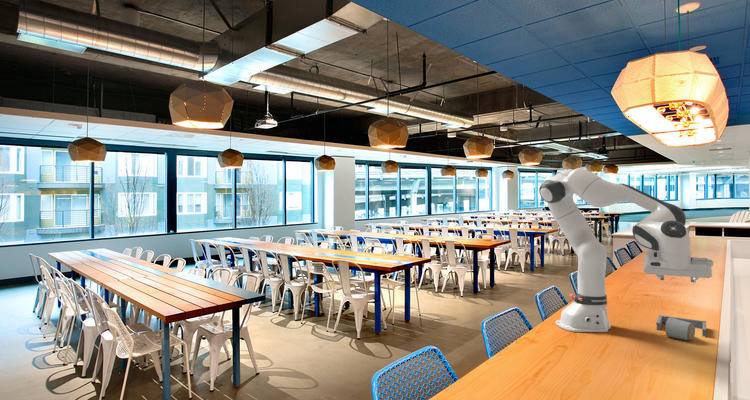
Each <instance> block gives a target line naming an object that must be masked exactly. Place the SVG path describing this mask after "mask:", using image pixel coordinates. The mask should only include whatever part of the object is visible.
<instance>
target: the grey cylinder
mask: <svg viewBox="0 0 750 400" xmlns="http://www.w3.org/2000/svg"><path fill="white" fill-rule="evenodd" d="M664 332H665V334H666V336H667V337H669V338H673V339H678V340H682V341H688V342H691V341H693V339H694V337H695V334H696V328H695V327H694V325H693V324H692V323H689V322H686V321H682V320H678V319H674V318H668V320H667V322H666V323H665V331H664Z"/></svg>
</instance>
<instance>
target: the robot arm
mask: <svg viewBox="0 0 750 400" xmlns="http://www.w3.org/2000/svg"><path fill="white" fill-rule="evenodd" d="M538 190H539V191H538V192H539V195H540V198H541V199H542V200H543V201H544V202H546V203H547V206H548V209H549V210H550V213H551V216H552V217H553V218H554V219H555V221H556V223H557V225H558V226H559V228H560V230H561V231H562V233H563V235H564V236H565V238H566V239H567V241H568V243H569V245H570V246H571V248H572V250H573V251H574V253H575V255H576V256H577V275H576V276H577V277H576V278H577V281H576V282H577V292H576V294H573V293H570V294H569V298H571V299H573V302H572V303H571V304H569V305H568V306H566V307H565V308H564V309H562V311H561V315H560V319H557V320H555V325H556V326H557V327H559V328H561V329H563V330H566V331H568V332H573V333H574V332H576V333H582V332H583V333H608V332H609V330H610V329H611V328H612V327H611V323H610V320H609V314H608V310H607V309H608V308H607V306H608V296H607V294H606V293H607V291H606V273H607V272H606V271H607V257H608V252H607V248H606V246H604V245H603V243H601V242H599V240H598V239H597V237H596V235H595V234H594V232H593V230H592V228H591V226H590V225H589V223H588V221H587V219H586V217H584V215H583V213H582V212H581V210H580V208H579V206H577V204H576V202H575V201H574V197H573V196H574V195H576V196H578V197H579V198H580V199H582V200H583V201H584V202H585V203H586V204H588V205H590V206H592V207H595V208H605V207H609V206H610V207H611V206H613V205H616V204H620V203H626V202H627V203H631V204H634V205H636V206H639V207H641V208H643V209H644V210H647V211H649V212H650V213H649V214H648V215H647V216H645V217H644V218H642V219H640V221H638V222H636V224H634V226H632V236H633V239H634V240H635V242H636V243H637V244H639V245H640V246H642V247H643V248H646V249H647V250H646V255H645V256H644V260H643V273H645V274H646V275H655V276H656V277H657V278H659V281H665V276H672V277H675V276H676V277H689V278H690V283H693V284H694V283H695V284H696V283H697V280H699V279H700V278H702V279H710V278H711V277H713V269H712V267H713V266H714V261H713V260H712V259H709V258H707V257H694V256H693V257H692V251H691V238H690V234H689V231H688V229H687V227H686V226H685V225H686V223H687V221H686V220H687V218H686V214H685V211H684V210H683V209H682V208H681V207H679V206H678V205H676V204H672V203H670V202H666V201H663V200H661V199H659V198H657V197H655V196H652V195H650V194H649V193H646V192H645V191H641V190H639V189H638V188H635V187H633V186H631V185H629V184H626V183H615V182H610V181H607V180H605V179H604V178H602V177H600V176H599V175H597V174H596V173H594V172H592V171H590V170H587V169H585V168H582V167H576V166H575V167H574V166H573V167H569V168H567V169H565V170H563V171H560V172H558V173H556V174H555V175H553V176H552V177H550V178H549V179H547V180H545V181H544V182H542V183H541V184H540V186H539V188H538Z"/></svg>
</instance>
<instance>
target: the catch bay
mask: <svg viewBox="0 0 750 400" xmlns="http://www.w3.org/2000/svg"><path fill="white" fill-rule="evenodd" d="M668 318H674V319H678V320H682V321H686V322H689V323H692V324H693V325H694V327H697V328H696V329H701V330H702V333H701V334H702V337H703V336H705V337H704V338H707V321H705V320H700V319H692V318H691V319H690V318H683V317H675V316H670V315H669V316H668V315H662V314H660V315H659V314H658V318H657V320H656V323H655V325H656V331H661V329H662V326H663V324H666V322H667V320H668Z"/></svg>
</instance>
